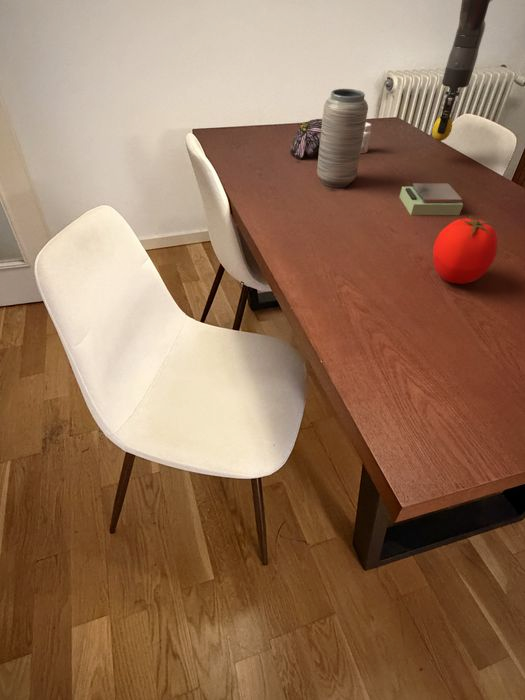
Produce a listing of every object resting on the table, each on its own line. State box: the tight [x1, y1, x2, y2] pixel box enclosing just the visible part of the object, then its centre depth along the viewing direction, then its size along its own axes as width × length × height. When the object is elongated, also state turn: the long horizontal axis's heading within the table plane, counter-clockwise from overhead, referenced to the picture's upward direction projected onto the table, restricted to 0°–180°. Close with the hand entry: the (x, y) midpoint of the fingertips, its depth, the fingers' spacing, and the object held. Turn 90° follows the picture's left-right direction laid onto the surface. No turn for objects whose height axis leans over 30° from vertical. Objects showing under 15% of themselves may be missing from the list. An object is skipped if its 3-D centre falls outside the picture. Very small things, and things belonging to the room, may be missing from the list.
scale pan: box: [411, 182, 463, 202], centre depth 107 cm, size 10×10×1 cm
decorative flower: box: [289, 118, 323, 161], centre depth 133 cm, size 15×12×15 cm
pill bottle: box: [360, 122, 372, 154], centre depth 136 cm, size 5×5×8 cm
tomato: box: [432, 215, 498, 285], centre depth 80 cm, size 12×12×13 cm
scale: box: [398, 186, 464, 216], centre depth 108 cm, size 13×11×4 cm
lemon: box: [431, 114, 453, 143], centre depth 126 cm, size 6×6×8 cm
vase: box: [316, 88, 369, 188], centre depth 112 cm, size 12×12×23 cm
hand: (441, 130), depth 126 cm, fingers closed on lemon, 5 cm apart
